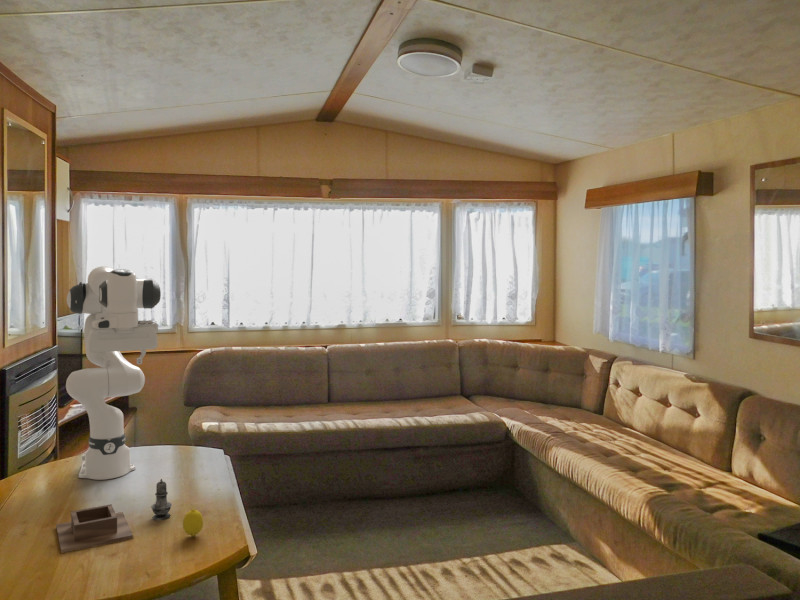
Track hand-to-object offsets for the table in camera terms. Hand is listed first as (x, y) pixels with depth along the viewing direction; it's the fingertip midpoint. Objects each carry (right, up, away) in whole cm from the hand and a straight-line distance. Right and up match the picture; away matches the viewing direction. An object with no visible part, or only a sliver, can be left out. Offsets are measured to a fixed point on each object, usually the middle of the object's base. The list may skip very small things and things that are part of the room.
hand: (123, 364), depth 199 cm
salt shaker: (+14, -46, -5) cm, 49 cm away
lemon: (+28, -48, -18) cm, 58 cm away
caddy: (-1, -47, -17) cm, 50 cm away
